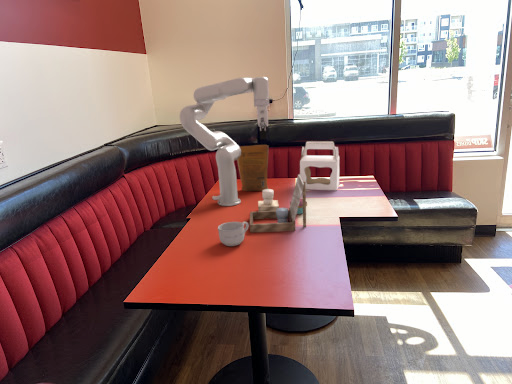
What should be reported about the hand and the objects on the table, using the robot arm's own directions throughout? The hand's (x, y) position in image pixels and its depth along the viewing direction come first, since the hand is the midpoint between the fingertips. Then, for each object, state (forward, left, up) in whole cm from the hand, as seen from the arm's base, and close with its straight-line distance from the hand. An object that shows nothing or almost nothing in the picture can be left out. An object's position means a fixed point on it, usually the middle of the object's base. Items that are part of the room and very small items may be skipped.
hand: (263, 137), depth 195 cm
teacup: (-14, -47, -37) cm, 61 cm away
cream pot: (+1, -12, -31) cm, 33 cm away
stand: (+1, -12, -36) cm, 38 cm away
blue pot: (+7, -27, -36) cm, 46 cm away
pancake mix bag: (-6, +31, -36) cm, 48 cm away
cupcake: (+16, -13, -36) cm, 42 cm away
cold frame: (+5, -28, -36) cm, 46 cm away
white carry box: (+34, +32, -37) cm, 59 cm away
